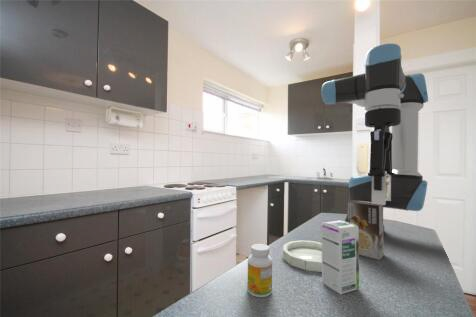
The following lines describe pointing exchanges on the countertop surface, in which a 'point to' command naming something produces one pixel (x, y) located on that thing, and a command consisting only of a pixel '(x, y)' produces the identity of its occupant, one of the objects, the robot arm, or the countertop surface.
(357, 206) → the coffee box
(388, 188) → the ring
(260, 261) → the supplement bottle
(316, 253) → the ring dish
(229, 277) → the countertop surface
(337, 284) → the syrup box
